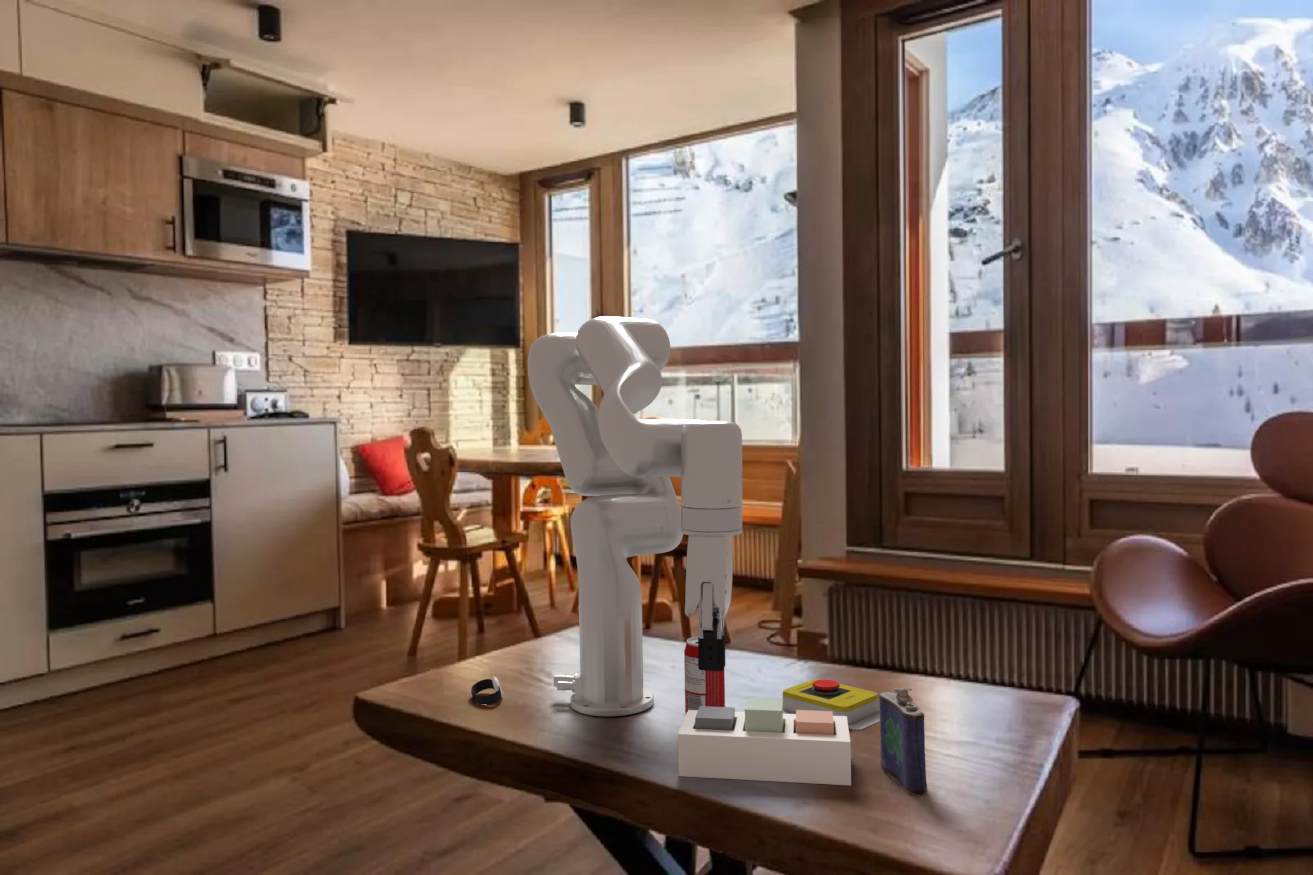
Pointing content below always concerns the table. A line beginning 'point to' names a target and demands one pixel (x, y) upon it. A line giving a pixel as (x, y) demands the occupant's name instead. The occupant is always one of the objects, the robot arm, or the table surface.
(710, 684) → the soda can
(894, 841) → the table surface
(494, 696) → the watch
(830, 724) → the terracotta key
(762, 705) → the sage key
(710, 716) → the charcoal key
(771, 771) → the key block
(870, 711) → the emergency button
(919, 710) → the flask
